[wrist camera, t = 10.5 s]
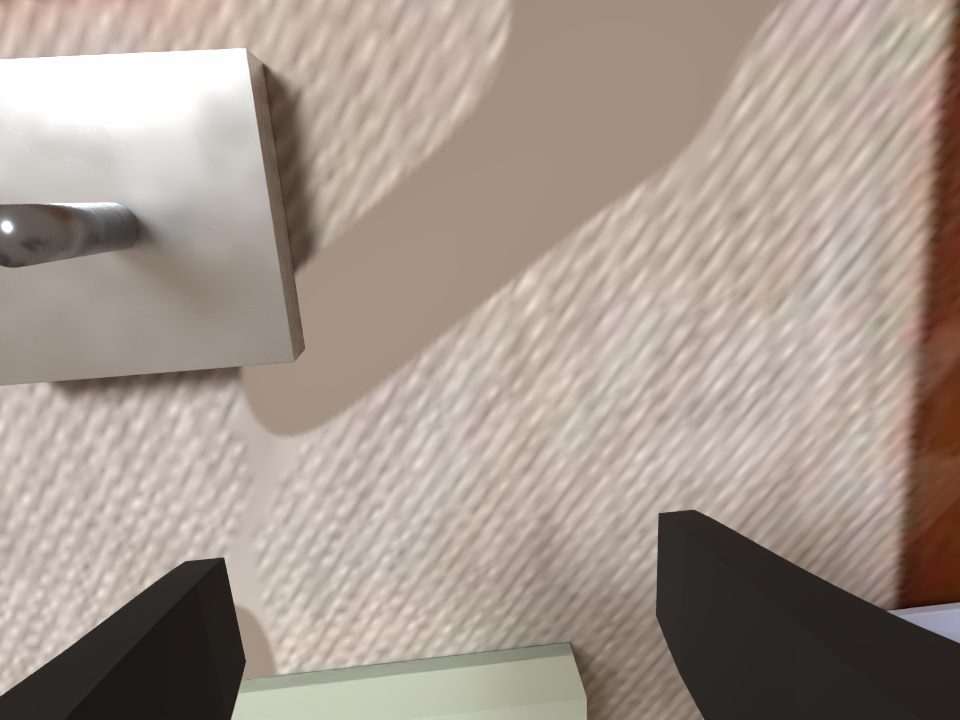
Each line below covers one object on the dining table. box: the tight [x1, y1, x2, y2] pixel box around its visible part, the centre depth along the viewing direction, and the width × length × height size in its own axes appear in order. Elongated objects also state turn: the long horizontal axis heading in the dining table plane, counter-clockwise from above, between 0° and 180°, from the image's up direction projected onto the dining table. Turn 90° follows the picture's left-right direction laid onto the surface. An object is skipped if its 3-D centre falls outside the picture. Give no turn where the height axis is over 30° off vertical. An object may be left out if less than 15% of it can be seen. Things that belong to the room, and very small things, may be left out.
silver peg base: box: [0, 48, 305, 386], centre depth 14 cm, size 8×8×6 cm
